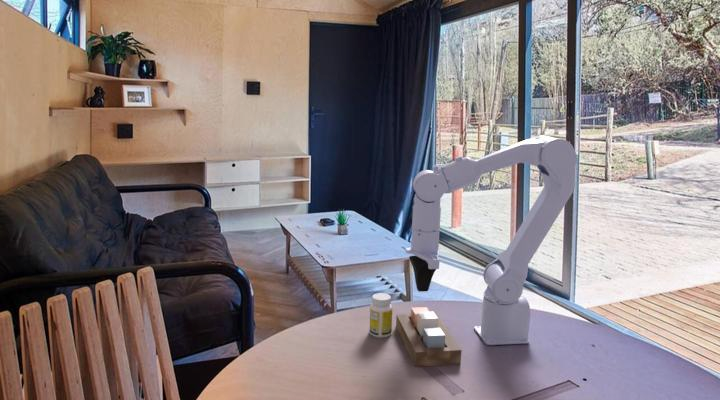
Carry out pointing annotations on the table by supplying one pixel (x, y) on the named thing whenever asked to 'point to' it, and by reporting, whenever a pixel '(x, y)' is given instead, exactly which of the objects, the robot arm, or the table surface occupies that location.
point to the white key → (426, 321)
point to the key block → (418, 350)
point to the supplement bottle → (381, 315)
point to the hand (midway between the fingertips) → (422, 290)
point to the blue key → (433, 338)
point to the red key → (414, 313)
